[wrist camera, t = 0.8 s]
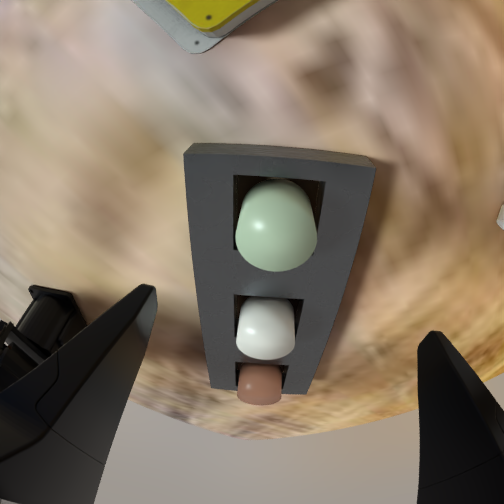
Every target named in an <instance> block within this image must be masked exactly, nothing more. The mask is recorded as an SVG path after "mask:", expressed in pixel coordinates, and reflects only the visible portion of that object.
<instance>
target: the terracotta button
mask: <svg viewBox="0 0 504 504" xmlns="http://www.w3.org/2000/svg"><path fill="white" fill-rule="evenodd" d="M281 387H282V368H281V366H280V365H272V364H257V363H243V364H242V365H241V367H240V375H239V383H238V392H237V396H238V398H239V399H240V400H241V401H243V402H245V403H248V404H253V405H270V404H274V403H276V402H278V401H279V400H280V399H281Z"/></svg>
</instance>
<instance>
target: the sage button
mask: <svg viewBox="0 0 504 504" xmlns="http://www.w3.org/2000/svg"><path fill="white" fill-rule="evenodd" d="M316 244H317V232H316V227H315V222H314V217H313V212H312V207H311V203H310V200H309V197H308V196H307V194H306V193H305V191H304V190H303V189H302V188H301V187H300V186H298V185H297V184H295V183H293V182H291V181H288V180H285V179H268V180H264V181H262V182H260V183H258V184H256V185H255V186H253V187H252V188H251V189H250V190H249V191H248V192H247V194H246V195H245V197H244V200H243V203H242V207H241V212H240V216H239V221H238V225H237V230H236V245H237V248H238V250H239V252H240V254H241V255H242V256H243V258H244V259H245V260H246V261H248V262H249V263H250V264H252V265H253V266H255V267H257V268H260V269H263V270H267V271H276V272H279V271H287V270H290V269H293V268H296V267H298V266H300V265H301V264H303V263H304V262H305V261H307V260H308V259H309V257H310V256H311V255H312V253H313V252H314V250H315V247H316Z"/></svg>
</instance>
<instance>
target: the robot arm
mask: <svg viewBox="0 0 504 504" xmlns="http://www.w3.org/2000/svg"><path fill="white" fill-rule="evenodd" d="M28 290H29V292H30V294H31V296H32V298H33V301H32V302H31V304H30V305H29V307H28V308H27V310H26V311H25V313H24V314H23V316H22V317H21V319H20V320H19V322H18V324H17V325H16V327H15V326H14V324H13V323H12V322H11V321H10V322H9V323H8V324H7V323H6V322H4V321H2V320H1V321H0V504H94V501H95V497H96V494H97V490H98V487H99V484H100V480H101V477H102V474H103V470H104V467H105V464H106V461H107V457H108V454H109V451H110V448H111V445H112V442H113V439H114V437H115V433H116V431H117V428H118V425H119V422H120V419H121V416H122V413H123V411H124V408H125V405H126V403H127V400H128V397H129V395H130V392H131V389H132V387H133V384H134V381H135V379H136V376H137V373H138V371H139V368H140V366H141V363H142V361H143V358H144V355H145V352H146V348H147V345H148V341H149V337H150V334H151V330H152V326H153V323H154V319H155V316H156V312H157V295H156V288H155V287H154V286H152V285H147V284H141V285H139V286H138V287H137V288H135V289H134V290H133V291H131V292H130V293H129V294H127V295H126V296H125V297H124V298H122V299H121V300H120V301H118V302H117V303H116V304H115V305H113V306H112V307H111V308H109V309H108V310H107V311H106V312H104V313H103V314H102V315H101V316H99V317H98V318H97V319H95V320H94V321H93V322H92V323H90V324H89V325H88V326H87V325H86V323H85V321H84V319H83V317H82V315H81V313H80V311H79V309H78V307H77V305H76V303H75V301H74V299H73V297H72V295H71V294H69V293H67V292H61V291H56V290H51V289H46V288H41V287H36V286H30V287H29V288H28ZM4 342H6V343H7V344H8V346H6V345H5V344H4ZM417 359H418V404H419V427H420V462H419V485H418V496H417V504H504V411H503V409H502V408H501V407H500V405H499V404H498V402H496V400H495V398H494V397H493V396H492V394H491V393H490V391H489V390H488V389H487V388H486V386H485V385H484V383H483V382H482V381H481V380H480V378H479V377H478V376H477V374H476V373H475V372H474V370H473V369H472V368H471V367H470V365H469V364H468V363H467V362H466V360H465V359H464V358H463V357H462V356H461V354H460V353H459V352H458V351H457V349H456V348H455V347H454V346H453V345H452V343H451V342H450V341H449V340H448V339H447V337H446V336H445V335H444V334H443V333H442V332H441V331H430V332H429V333H428V334H427V336H426V337H425V338H424V339H423V340H422V341H421V343H420V344H419V346H418V349H417Z"/></svg>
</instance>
